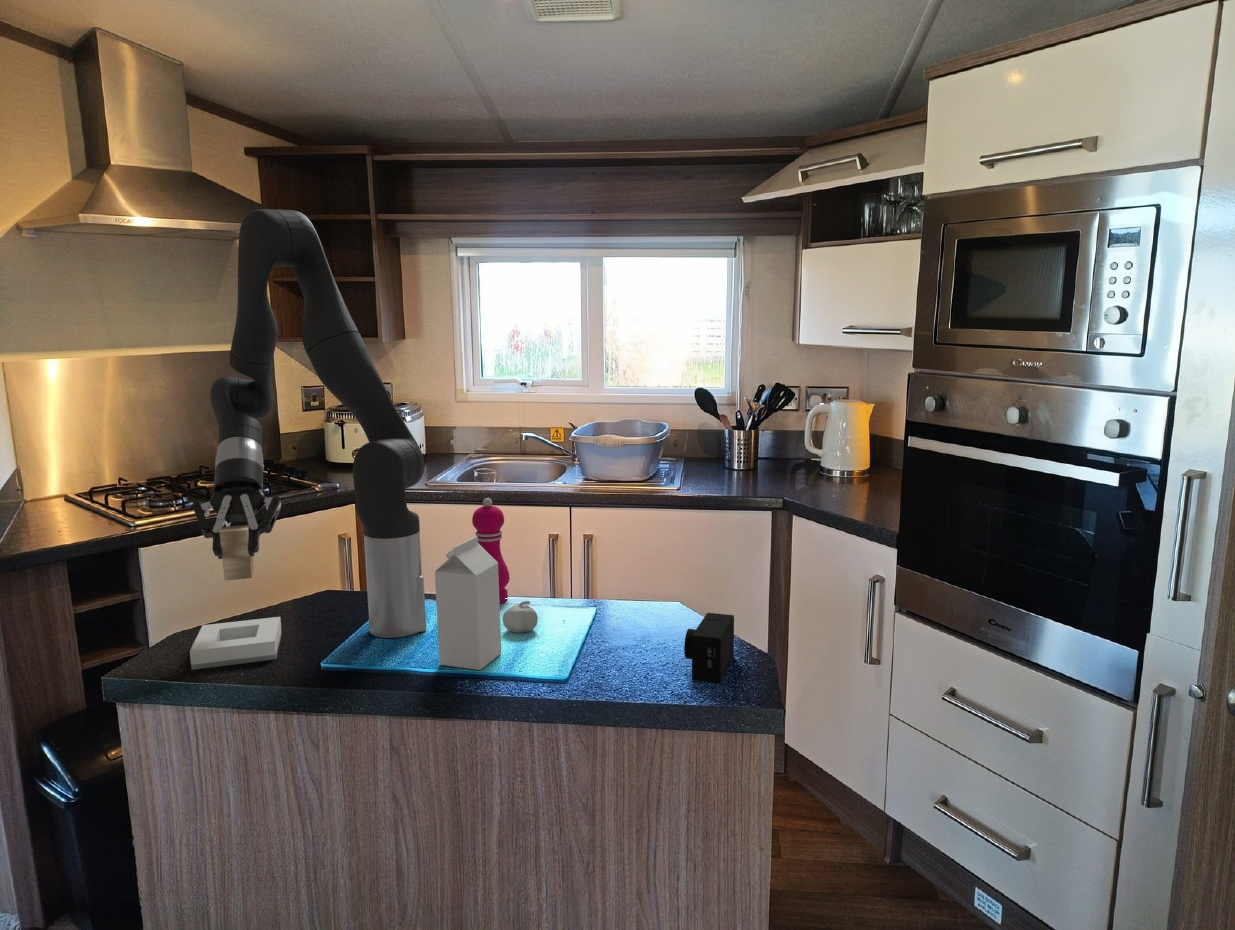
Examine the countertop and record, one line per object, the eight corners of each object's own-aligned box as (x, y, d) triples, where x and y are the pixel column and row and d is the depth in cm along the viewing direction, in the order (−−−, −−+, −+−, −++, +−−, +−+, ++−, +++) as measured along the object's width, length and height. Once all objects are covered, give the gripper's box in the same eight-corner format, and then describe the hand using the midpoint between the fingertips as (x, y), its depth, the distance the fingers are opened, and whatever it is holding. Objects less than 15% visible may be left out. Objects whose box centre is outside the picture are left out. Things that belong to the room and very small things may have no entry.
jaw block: (254, 571, 135) (250, 524, 133) (251, 577, 131) (246, 529, 130) (228, 574, 134) (223, 526, 132) (224, 580, 130) (219, 532, 128)
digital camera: (699, 653, 128) (699, 610, 127) (733, 657, 126) (734, 614, 125) (683, 679, 118) (683, 633, 117) (720, 684, 116) (720, 637, 115)
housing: (281, 633, 139) (280, 616, 138) (276, 659, 128) (274, 640, 127) (204, 642, 135) (202, 625, 135) (191, 669, 124) (189, 651, 123)
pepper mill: (502, 607, 151) (499, 502, 148) (466, 605, 152) (461, 501, 149) (515, 595, 158) (511, 494, 155) (480, 593, 159) (476, 493, 156)
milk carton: (501, 654, 128) (497, 537, 125) (480, 671, 122) (475, 549, 119) (462, 649, 131) (457, 534, 128) (439, 665, 124) (432, 545, 121)
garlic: (539, 624, 141) (538, 596, 141) (537, 636, 136) (536, 606, 135) (505, 625, 141) (504, 596, 141) (501, 636, 136) (500, 607, 135)
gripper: (188, 459, 134) (181, 547, 125) (280, 453, 138) (280, 538, 129) (198, 485, 140) (191, 571, 130) (286, 479, 144) (286, 562, 135)
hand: (235, 554), depth 130 cm, fingers closed on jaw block, 4 cm apart
